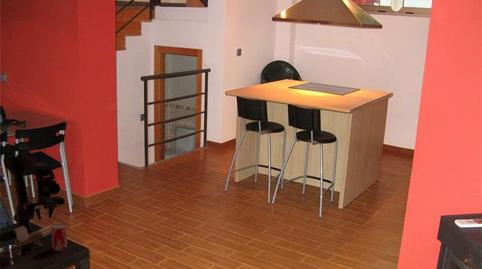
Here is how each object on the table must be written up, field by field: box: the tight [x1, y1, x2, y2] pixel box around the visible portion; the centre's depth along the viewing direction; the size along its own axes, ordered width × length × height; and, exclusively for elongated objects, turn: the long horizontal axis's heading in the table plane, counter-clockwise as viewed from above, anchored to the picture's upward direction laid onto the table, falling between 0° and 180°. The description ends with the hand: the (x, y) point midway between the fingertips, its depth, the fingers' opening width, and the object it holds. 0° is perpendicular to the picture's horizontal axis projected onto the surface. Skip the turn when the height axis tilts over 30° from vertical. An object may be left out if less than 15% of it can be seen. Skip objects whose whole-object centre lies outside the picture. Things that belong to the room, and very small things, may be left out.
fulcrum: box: [26, 239, 45, 250], centre depth 259 cm, size 8×6×4 cm
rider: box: [13, 226, 30, 243], centre depth 254 cm, size 4×4×6 cm
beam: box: [13, 225, 53, 249], centre depth 258 cm, size 6×18×2 cm, turn 129°
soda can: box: [51, 223, 68, 252], centre depth 255 cm, size 7×7×12 cm
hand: (45, 219), depth 260 cm, fingers open, 4 cm apart
